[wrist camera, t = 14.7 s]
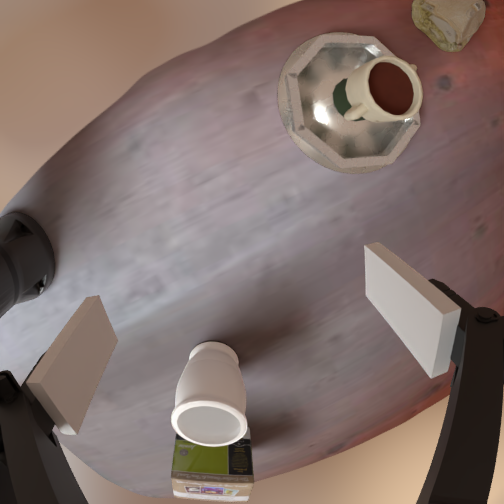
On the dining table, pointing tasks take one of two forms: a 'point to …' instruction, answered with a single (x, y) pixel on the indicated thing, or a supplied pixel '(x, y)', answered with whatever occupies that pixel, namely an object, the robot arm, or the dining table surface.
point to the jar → (210, 397)
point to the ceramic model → (448, 21)
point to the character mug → (380, 91)
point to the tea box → (213, 470)
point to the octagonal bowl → (325, 113)
